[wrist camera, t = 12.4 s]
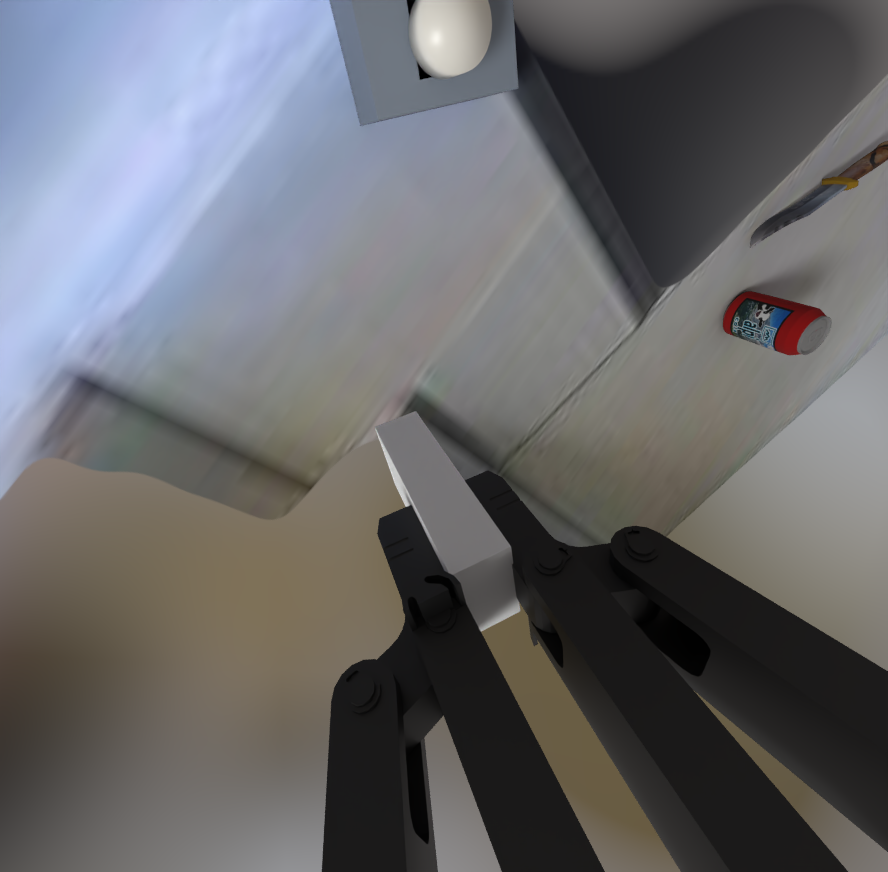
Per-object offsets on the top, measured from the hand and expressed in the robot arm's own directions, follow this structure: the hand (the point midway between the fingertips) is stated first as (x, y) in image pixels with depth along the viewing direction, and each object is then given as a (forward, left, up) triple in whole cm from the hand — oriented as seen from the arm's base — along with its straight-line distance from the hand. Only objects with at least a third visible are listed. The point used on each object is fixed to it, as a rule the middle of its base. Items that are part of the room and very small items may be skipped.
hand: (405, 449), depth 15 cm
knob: (+15, +13, -32) cm, 37 cm away
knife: (+69, -9, -33) cm, 77 cm away
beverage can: (+61, -24, -33) cm, 73 cm away
